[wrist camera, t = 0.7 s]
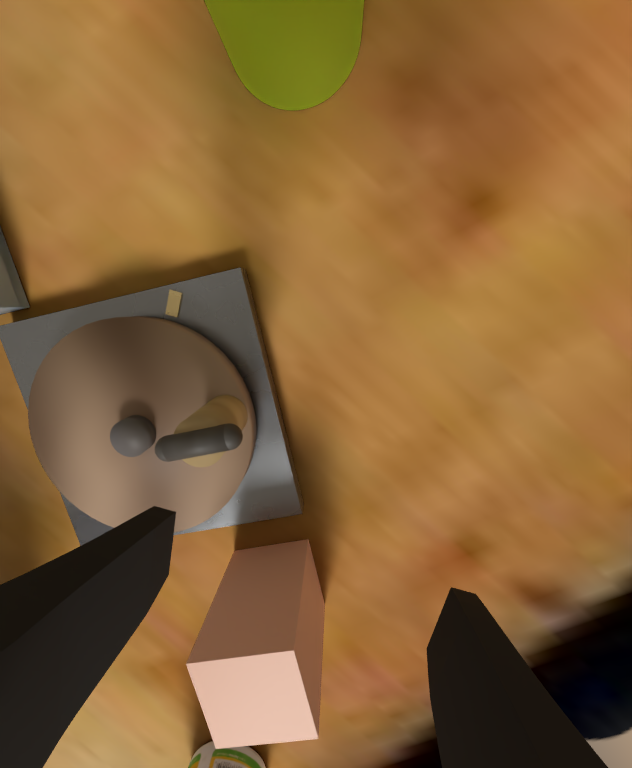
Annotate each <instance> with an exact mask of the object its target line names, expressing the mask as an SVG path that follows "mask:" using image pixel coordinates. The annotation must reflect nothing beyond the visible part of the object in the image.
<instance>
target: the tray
mask: <svg viewBox="0 0 632 768" xmlns="http://www.w3.org/2000/svg"><path fill="white" fill-rule="evenodd" d="M29 307H30V306H29V303H28V301H27V298H26V295H25V292H24V290H23V287H22V284H21V282H20V279H19V276H18V273H17V271H16V268H15V265H14V262H13V260H12V257H11V254H10V252H9V249H8V246H7V243H6V241H5V238H4V235H3V232H2V230H1V227H0V315H1V314H5V313H9V312H13V311H17V310H21V309H25V308H29Z"/></svg>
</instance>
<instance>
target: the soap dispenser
mask: <svg viewBox="0 0 632 768" xmlns="http://www.w3.org/2000/svg"><path fill="white" fill-rule="evenodd" d="M204 2H205V4H206V6H207V8H208V11H209V13H210V15H211V17H212V20H213V22H214V24H215V26H216V29H217V31H218V33H219V35H220V38H221V40H222V42H223V44H224V47H225V49H226V51H227V53H228V56H229V58H230V60H231V62H232V65H233V67H234V69H235V71H236V73H237V75H238V77H239V78H240V80H241V82H242V83H243V84H244V86H245V87H246V88H247V89H248V90H249V91H250V92H251V93H252V94H253V95H254V96H255V97H256V98H258V99H259V100H260V101H262V102H264V103H265V104H267V105H270V106H272V107H275V108H278V109H282V110H303V109H307V108H311V107H314V106H316V105H318V104H320V103H322V102H324V101H325V100H327V99H328V98H330V97H331V96H332V95H333V94H334V93H335V92H336V91H337V90H338V89H339V88H340V87H341V86H342V85H343V83H344V82H345V81H346V79H347V78H348V76H349V74H350V73H351V71H352V69H353V67H354V64H355V62H356V59H357V56H358V52H359V48H360V43H361V34H362V22H363V10H364V0H204Z"/></svg>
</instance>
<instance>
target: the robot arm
mask: <svg viewBox="0 0 632 768" xmlns="http://www.w3.org/2000/svg"><path fill="white" fill-rule="evenodd" d="M175 518H176V512H175V511H171V510H167V509H164V508H160V507H157V506H153V507H151V508H149V509H148V510H146V511H144V512H142V513H140V514H138V515H137V516H135V517H133V518H131V519H129V520H128V521H126V522H124V523H122V524H120V525H119V526H117V527H115V528H113V529H111V530H109V531H108V532H106V533H104V534H102V535H100V536H99V537H97V538H95V539H93V540H91V541H89V542H87V543H85V544H83V545H82V546H80V547H78V548H76V549H74V550H72V551H70V552H68V553H66V554H64V555H62V556H60V557H58V558H56V559H54V560H52V561H50V562H48V563H46V564H44V565H42V566H40V567H38V568H36V569H34V570H32V571H30V572H27V573H25V574H23V575H21V576H19V577H17V578H15V579H13V580H10V581H8V582H6V583H4V584H2V585H0V768H43V766H44V764H45V763H46V761H47V759H48V758H49V756H50V754H51V753H52V751H53V750H54V748H55V746H56V745H57V743H58V741H59V740H60V738H61V737H62V735H63V734H64V732H65V731H66V729H67V728H68V726H69V725H70V723H71V721H72V720H73V718H74V717H75V715H76V714H77V713H78V711H79V710H80V708H81V707H82V705H83V704H84V703H85V701H86V700H87V698H88V697H89V696H90V694H91V693H92V691H93V690H94V688H95V687H96V686H97V684H98V683H99V681H100V680H101V679H102V677H103V676H104V674H105V673H106V671H107V670H108V669H109V667H110V666H111V664H112V663H113V662H114V660H115V659H116V657H117V656H118V654H119V653H120V652H121V650H122V649H123V647H124V646H125V645H126V643H127V642H128V640H129V639H130V637H131V636H132V634H133V633H134V632H135V630H136V629H137V627H138V626H139V624H140V623H141V622H142V620H143V619H144V617H145V616H146V614H147V612H148V611H149V609H150V607H151V605H152V604H153V602H154V600H155V598H156V597H157V595H158V593H159V591H160V589H161V588H162V586H163V584H164V582H165V580H166V578H167V577H168V575H169V567H170V559H171V551H172V543H173V535H174V526H175ZM427 661H428V677H429V689H430V700H431V706H432V712H433V718H434V723H435V729H436V735H437V741H438V746H439V752H440V758H441V763H442V768H608V767H607V766H606V765H605V763H604V762H603V761H602V760H601V759H600V757H599V756H598V755H597V754H596V752H595V751H594V750H593V749H592V748H591V746H590V745H589V744H588V742H587V741H586V740H585V739H584V738H583V736H582V735H581V734H580V733H579V731H578V730H577V729H576V728H575V726H574V725H573V724H572V723H571V721H570V720H569V719H568V718H567V716H566V715H565V714H564V712H563V711H562V710H561V709H560V707H559V706H558V705H557V703H556V702H555V701H554V700H553V698H552V697H551V696H550V694H549V693H548V692H547V690H546V689H545V688H544V686H543V685H542V684H541V682H540V681H539V680H538V678H537V677H536V676H535V674H534V673H533V672H532V670H531V669H530V668H529V666H528V665H527V664H526V662H525V661H524V660H523V658H522V657H521V655H520V654H519V653H518V651H517V650H516V649H515V647H514V646H513V644H512V643H511V642H510V640H509V639H508V637H507V636H506V635H505V633H504V632H503V630H502V629H501V628H500V626H499V625H498V624H497V622H496V621H495V619H494V618H493V617H492V615H491V614H490V612H489V611H488V610H487V608H486V607H485V606H484V604H483V603H482V602H481V600H480V599H479V598H478V596H477V595H476V594H474V593H470V592H466V591H463V590H459V589H456V588H452V587H451V589H450V591H449V594H448V596H447V599H446V601H445V604H444V606H443V609H442V611H441V614H440V616H439V619H438V621H437V624H436V626H435V629H434V631H433V634H432V637H431V639H430V642H429V644H428V647H427Z"/></svg>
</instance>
